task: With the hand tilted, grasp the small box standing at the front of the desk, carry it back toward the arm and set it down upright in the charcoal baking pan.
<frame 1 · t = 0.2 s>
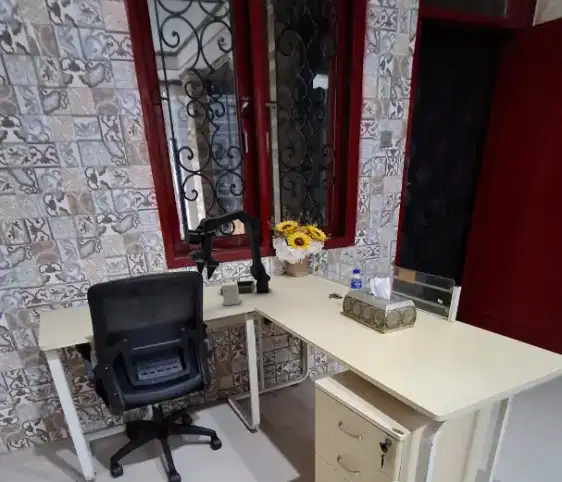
hand: (204, 278, 207), 16 cm above the table, tool pointing down, fingers open, 9 cm apart
small box: (232, 303, 218), on the table
pan: (238, 289, 237), on the table
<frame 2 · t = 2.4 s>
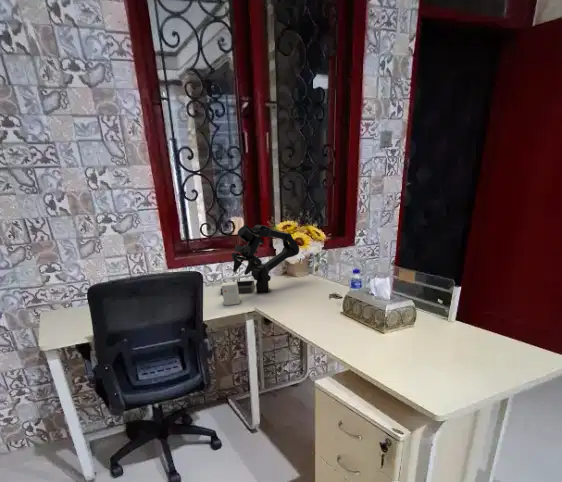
hand: (239, 273, 216), 14 cm above the table, tool tilted 45°, fingers open, 9 cm apart
nothing on the table moved.
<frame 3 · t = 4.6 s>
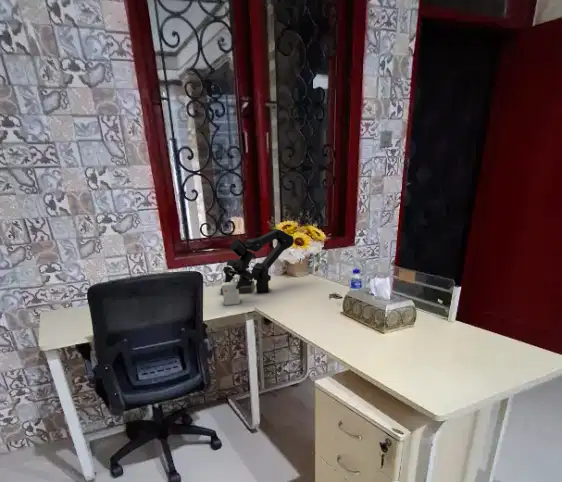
hand: (230, 287, 214), 8 cm above the table, tool tilted 45°, fingers open, 9 cm apart
nothing on the table moved.
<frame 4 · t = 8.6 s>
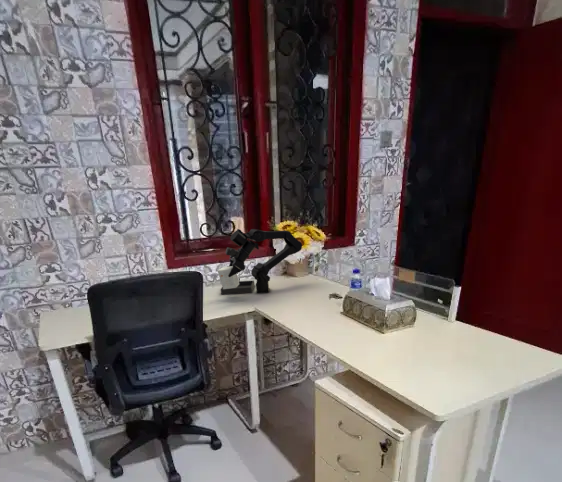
hand: (227, 274, 221), 12 cm above the table, tool tilted 45°, fingers closed on small box, 7 cm apart
small box: (231, 287, 225), point 5 cm above the table, touching gripper
when the fingers open (8 cm above the table, at t = 12.0 s): small box stays where it is, resting on pan.
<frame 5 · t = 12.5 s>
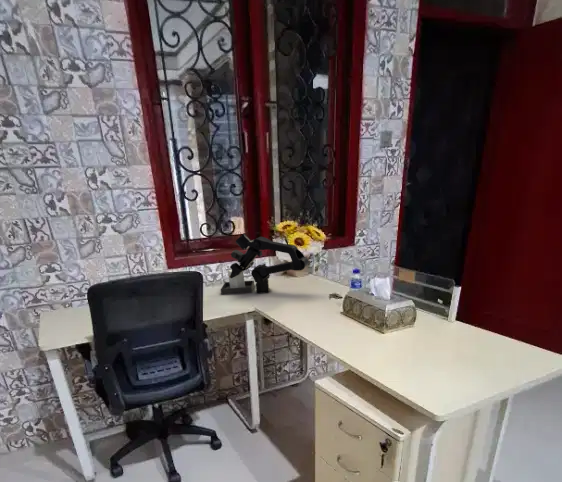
hand: (234, 275, 234), 8 cm above the table, tool tilted 45°, fingers open, 9 cm apart
small box: (237, 289, 237), resting on pan
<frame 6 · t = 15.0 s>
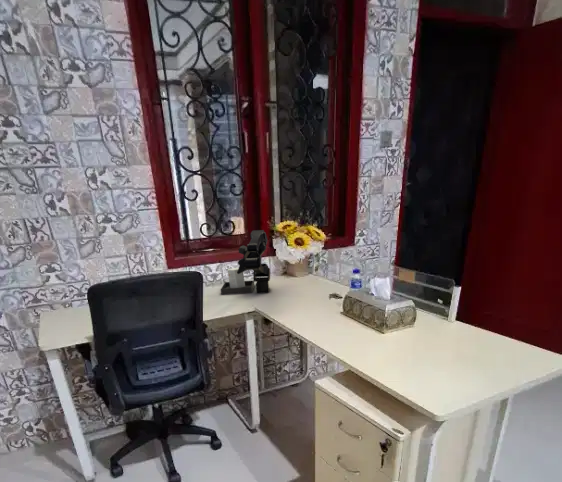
hand: (241, 271, 234), 10 cm above the table, tool tilted 45°, fingers open, 9 cm apart
small box: (237, 287, 237), point 1 cm above the table, touching gripper, pan
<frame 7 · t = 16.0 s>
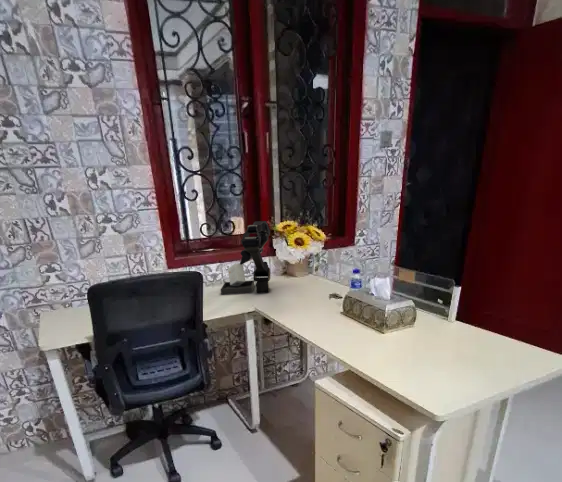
hand: (243, 261, 239), 13 cm above the table, tool tilted 45°, fingers open, 9 cm apart
small box: (237, 284, 236), point 3 cm above the table, touching pan
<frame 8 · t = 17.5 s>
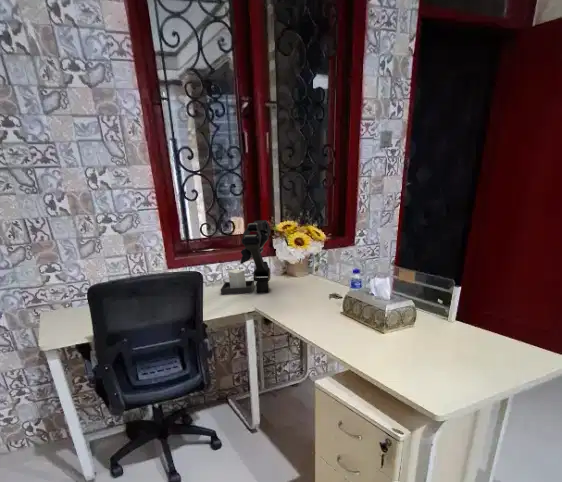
hand: (244, 261, 239), 14 cm above the table, tool tilted 45°, fingers open, 9 cm apart
small box: (238, 289, 236), resting on pan
at the end: small box inside the target area in the pan (0.4 cm from its centre), point 0.4 cm above the pan's base; small box tilted 0°; the gripper is holding nothing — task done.
